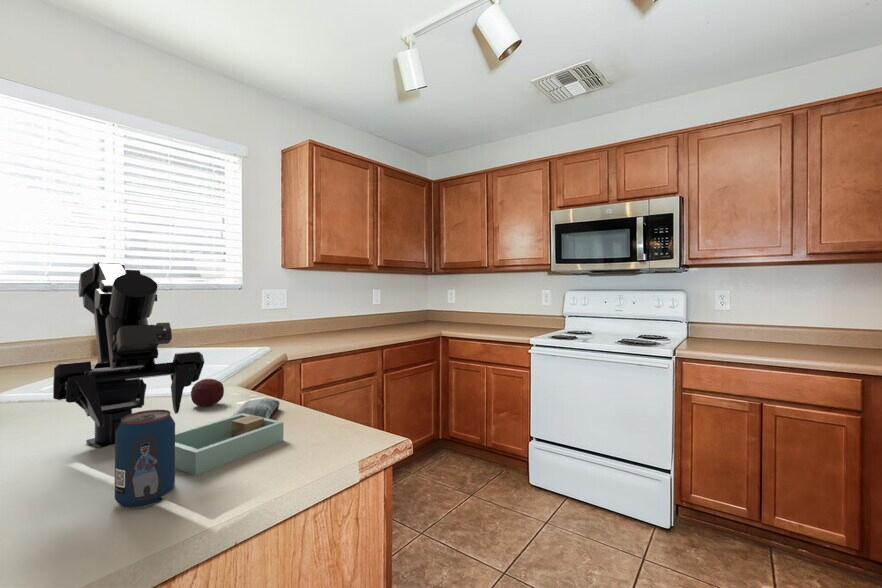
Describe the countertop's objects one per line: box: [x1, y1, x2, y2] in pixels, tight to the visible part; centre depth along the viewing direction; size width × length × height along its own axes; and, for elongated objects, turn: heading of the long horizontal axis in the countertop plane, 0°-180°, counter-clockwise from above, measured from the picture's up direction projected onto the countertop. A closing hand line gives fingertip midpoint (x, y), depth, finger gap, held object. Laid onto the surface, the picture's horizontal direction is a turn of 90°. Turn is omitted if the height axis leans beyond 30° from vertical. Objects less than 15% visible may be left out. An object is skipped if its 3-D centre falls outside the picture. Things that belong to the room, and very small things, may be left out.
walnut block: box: [232, 415, 264, 438], centre depth 77 cm, size 4×4×4 cm
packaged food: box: [231, 397, 281, 419], centre depth 92 cm, size 9×12×5 cm
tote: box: [175, 413, 284, 476], centre depth 73 cm, size 12×17×4 cm
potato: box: [190, 378, 225, 408], centre depth 104 cm, size 7×8×7 cm
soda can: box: [114, 409, 176, 510], centre depth 57 cm, size 7×7×12 cm
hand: (141, 418), depth 60 cm, fingers open, 9 cm apart
